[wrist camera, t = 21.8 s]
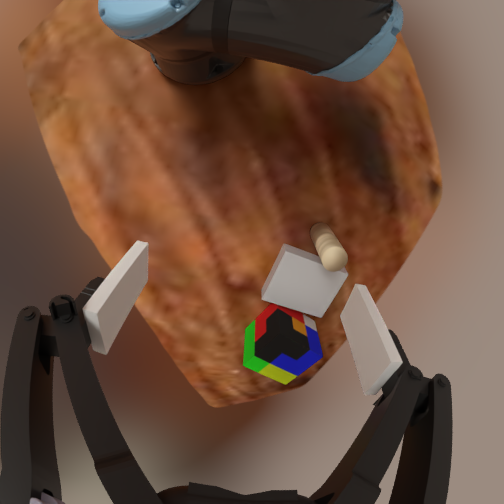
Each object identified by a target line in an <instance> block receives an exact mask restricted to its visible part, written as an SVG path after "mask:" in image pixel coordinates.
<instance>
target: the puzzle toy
mask: <svg viewBox="0 0 504 504" xmlns="http://www.w3.org/2000/svg"><path fill="white" fill-rule="evenodd" d="M322 357H323V354H322V349H321V345H320V341H319V337H318V333H317V329H316V324H315V321H314V320H312V319H310V318H309V317H307V316H306V315H304V314H302V313H301V312H299V311H297V310H293V309H290V308H287V307H284V306H280V305H277V304H274V303H271V304H270V305H269V306H268V307H267V308H266V309H265V310H264V311H263V312H262V313H261V314H260V315H259V316H258V317H257V318H256V319H255V320H254V321H253V322H252V323H251V324H250V325H249V326H248V327H247V328H246V329H245V342H244V358H243V366H245V367H247V368H249V369H251V370H254V371H256V372H258V373H260V374H262V375H265V376H267V377H269V378H271V379H274V380H276V381H278V382H281V383H283V384H285V385H286V384H287V383H289V382H290V381H292V380H293V379H294V378H296V377H297V376H298V375H300V374H301V373H303V372H304V371H305V370H307V369H308V368H309V367H311V366H312V365H313V364H314V363H316V362H317V361H318V360H320V359H321V358H322Z"/></svg>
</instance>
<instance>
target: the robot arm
mask: <svg viewBox="0 0 504 504" xmlns="http://www.w3.org/2000/svg"><path fill="white" fill-rule="evenodd" d="M98 10H99V14H100V17H101V19H102V20H103V22H104V23H105V24H106V25H107V26H108V27H109V28H110V29H111V30H113V31H114V33H115V34H116V35H118V36H120V37H121V38H124V39H128V40H130V41H131V42H133V43H135V44H137V45H139V46H140V47H142V48H144V49H146V50H147V51H149V52H150V54H151V58H152V60H153V62H154V64H155V66H156V67H157V68H158V69H159V71H160V72H162V73H163V74H164V75H166V76H167V77H169V78H171V79H173V80H175V81H177V82H180V83H184V84H190V85H200V84H207V83H211V82H214V81H217V80H220V79H222V78H224V77H226V76H227V75H229V74H230V73H232V72H233V71H234V70H236V69H237V68H238V67H239V66H240V64H241V63H242V62H243V61H244V59H245V57H248V58H253V59H258V60H263V61H268V62H272V63H277V64H281V65H285V66H289V67H293V68H296V69H300V70H304V71H306V72H307V73H308V74H311V75H317V76H325V77H328V78H332V79H335V80H339V81H343V82H344V81H345V82H351V81H357V80H360V79H362V78H364V77H366V76H367V75H369V74H370V73H372V72H373V71H374V70H375V69H376V68H377V67H378V66H379V65H380V64H381V63H382V62H383V61H384V60H385V59H386V57H387V56H388V55H389V53H390V52H391V50H392V49H393V47H394V45H395V43H396V41H397V39H396V35H397V34H398V33H399V32H400V31H401V28H402V24H403V11H402V8H401V6H400V4H399V3H398V2H397V1H396V0H99V2H98ZM147 281H148V243H146V242H141V241H136V243H135V244H134V245H133V246H132V247H131V248H130V249H129V251H128V252H127V253H126V254H125V255H124V257H123V258H122V259H121V260H120V261H119V263H118V264H117V265H116V266H115V267H114V269H113V270H112V271H111V272H110V274H109V275H108V276H107V277H106V279H104V278H100V277H97V278H95V279H93V280H92V281H90V282H89V284H88V285H87V286H86V288H85V289H84V290H83V291H82V293H80V295H79V296H78V297H77V298H76V300H75V301H74V299H73V298H72V297H71V296H69V295H59V296H56V297H54V298H53V299H52V300H51V301H50V303H49V309H50V312H51V316H48V315H41V313H40V310H39V309H38V308H37V307H35V306H28V307H25V308H23V309H22V310H21V311H20V312H19V314H18V317H17V321H16V325H15V329H14V332H13V337H12V341H11V345H10V350H9V356H8V361H7V367H6V374H5V380H4V388H3V398H2V411H1V459H2V471H1V476H0V504H65V503H64V502H62V496H61V485H60V478H59V471H58V465H57V458H56V450H55V441H54V428H53V402H52V389H53V387H52V386H53V362H54V356H57V357H60V361H61V365H62V370H63V374H64V378H65V382H66V385H67V389H68V392H69V396H70V399H71V402H72V406H73V409H74V412H75V415H76V418H77V420H78V423H79V426H80V428H81V431H82V434H83V436H84V439H85V441H86V444H87V446H88V448H89V451H90V453H91V455H92V457H93V460H94V463H95V464H94V465H95V469H96V472H97V474H98V476H99V478H100V480H101V482H102V484H103V485H104V487H105V489H106V491H107V493H108V495H109V496H110V498H111V500H112V502H113V503H114V504H374V503H375V502H376V500H377V498H378V497H379V495H380V492H381V489H380V488H379V483H380V482H381V480H382V478H383V476H384V474H385V472H386V471H387V469H388V467H389V465H390V463H391V461H392V459H393V457H394V455H395V453H396V451H397V448H398V446H399V444H400V442H401V440H402V437H403V435H404V439H403V444H402V450H401V456H400V460H399V465H398V470H397V474H396V479H395V482H394V486H393V490H392V494H391V497H390V501H389V504H446V499H447V493H448V486H449V478H450V468H451V456H452V455H451V454H452V398H451V385H450V382H449V380H448V378H446V376H444V375H442V374H436V375H435V376H434V377H433V378H432V379H429V378H426V377H423V374H422V373H421V371H420V370H419V369H418V368H417V367H414V366H411V365H410V363H409V361H408V359H407V357H406V354H405V352H404V350H403V349H402V346H401V344H400V342H399V340H398V338H397V336H396V335H395V333H394V332H393V331H392V330H388V329H387V327H386V325H385V323H384V321H383V319H382V317H381V315H380V313H379V311H378V309H377V307H376V305H375V303H374V301H373V299H372V297H371V295H370V293H369V291H368V289H367V287H366V286H365V285H360V284H355V286H354V288H353V290H352V293H351V295H350V297H349V299H348V301H347V303H346V305H345V307H344V309H343V311H342V313H341V315H340V318H341V321H342V324H343V327H344V330H345V333H346V336H347V339H348V342H349V345H350V349H351V352H352V355H353V358H354V362H355V365H356V368H357V372H358V375H359V379H360V382H361V386H362V389H363V393H364V395H375V394H377V393H378V391H379V390H380V389H381V388H382V391H383V394H382V395H381V397H380V398H379V399H378V400H377V401H376V402H375V403H374V404H373V405H375V404H376V405H375V407H374V409H373V411H372V413H371V414H370V416H369V418H368V420H367V421H366V423H365V425H364V426H363V428H362V430H361V431H360V433H359V435H358V436H357V438H356V439H355V441H354V442H353V444H352V445H351V447H350V448H349V450H348V451H347V453H346V454H345V456H344V457H343V459H342V460H341V461H340V463H339V464H338V466H337V467H336V468H335V470H334V471H333V473H332V474H331V475H330V476H329V478H328V479H327V480H326V482H325V483H324V484H323V485H322V486H321V488H319V489H318V490H317V491H316V492H315V493H314V494H312V495H311V497H309V498H307V497H305V496H301V495H298V494H297V490H271V491H266V492H262V493H256V494H250V495H242V494H238V493H235V492H232V491H229V490H226V489H223V488H220V487H217V486H209V485H203V484H197V483H191V482H189V486H177V487H172V488H168V489H166V490H163V491H161V492H159V493H156V492H155V490H154V489H153V487H152V486H151V484H150V483H149V481H148V480H147V478H146V476H145V475H144V473H143V472H142V470H141V468H140V467H139V465H138V463H137V461H136V460H135V458H134V456H133V455H132V453H131V451H130V449H129V447H128V445H127V443H126V441H125V439H124V438H123V436H122V434H121V432H120V430H119V428H118V425H117V423H116V421H115V419H114V417H113V415H112V412H111V410H110V408H109V406H108V403H107V401H106V398H105V396H104V393H103V391H102V389H101V386H100V383H99V381H98V378H97V375H96V372H95V370H94V367H93V364H92V361H91V358H90V355H89V352H88V347H89V345H90V344H92V348H93V350H94V351H97V352H100V353H102V354H106V355H107V353H108V351H109V349H110V347H111V345H112V343H113V341H114V339H115V338H116V336H117V334H118V332H119V330H120V328H121V326H122V325H123V323H124V321H125V319H126V317H127V316H128V314H129V312H130V310H131V308H132V307H133V305H134V303H135V301H136V300H137V298H138V296H139V295H140V293H141V291H142V289H143V288H144V286H145V284H146V283H147Z"/></svg>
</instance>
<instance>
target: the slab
mask: <svg viewBox="0 0 504 504" xmlns="http://www.w3.org/2000/svg"><path fill="white" fill-rule="evenodd" d="M347 276H348V273H347V271H346V269H345V267H344V268H342V269H341V270H339V271H336V272H331V271H328V270H326V269H325V268H324V266H323V264H322V262H321V259H320V257H319V256H317V255H314V254H311V253H309V252H306V251H303V250H301V249H298V248H295V247H293V246H290V245H288V244H285V243H284V244H283V246H282V248H281V250H280V252H279V254H278V257H277V259H276V261H275V263H274V265H273V267H272V269H271V271H270V273H269V275H268V277H267V279H266V281H265V284H264V286H263V288H262V290H261V291H262V300H265V301H268V302H271V303H274V304H277V305H280V306H284V307H287V308H290V309H293V310H297V311H300V312H303V313H307V314H310V315H313V316H317V317H320V318H322V316H323V315H324V313H325V311H326V310H327V308H328V307H329V305H330V304H331V302H332V301H333V299H334V297H335V296H336V294H337V293H338V291H339V289H340V288H341V286H342V284H343V283H344V281H345V279H346V278H347Z"/></svg>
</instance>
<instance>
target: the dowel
mask: <svg viewBox="0 0 504 504" xmlns="http://www.w3.org/2000/svg"><path fill="white" fill-rule="evenodd" d="M310 236H311V239H312V241H313V243H314V245H315V248H316V250H317V252H318V255H319V257H320V259H321V262H322V264H323V266H324V268H325V269H326V270H328V271H331V272H336V271H339V270H341V269H342V268H344V266H345V265H346V263H347V260H348V256H347V253H346V252H345V250H344V249H343V247H342V245H341V244H340V242H339V241H338V239H337V238H336V236H335V235H334V233H333V232H332V230H331V229H330V227H329V226H328V225H327V224H326V223H323V222H319V223H316V224H314V225H313V226H312V228H311V230H310Z"/></svg>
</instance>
